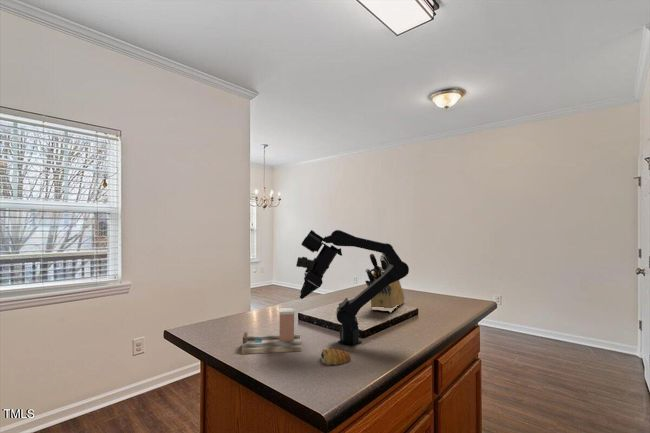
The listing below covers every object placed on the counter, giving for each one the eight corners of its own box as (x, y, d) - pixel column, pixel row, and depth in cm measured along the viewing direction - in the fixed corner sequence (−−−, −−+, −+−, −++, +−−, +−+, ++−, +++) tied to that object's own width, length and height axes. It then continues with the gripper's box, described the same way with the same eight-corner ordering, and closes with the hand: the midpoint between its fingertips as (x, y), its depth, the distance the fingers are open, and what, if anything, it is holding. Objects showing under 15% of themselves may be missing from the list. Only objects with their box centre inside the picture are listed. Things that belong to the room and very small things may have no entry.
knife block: (363, 315, 153) (363, 251, 154) (385, 300, 185) (385, 246, 185) (386, 318, 148) (386, 252, 149) (405, 302, 179) (404, 247, 180)
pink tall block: (293, 337, 117) (293, 307, 117) (294, 342, 112) (294, 311, 112) (279, 338, 116) (279, 308, 117) (279, 343, 111) (279, 312, 112)
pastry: (347, 355, 106) (347, 344, 107) (353, 364, 100) (353, 352, 100) (319, 358, 105) (319, 346, 105) (323, 367, 98) (323, 354, 98)
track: (299, 340, 120) (299, 328, 120) (301, 350, 110) (301, 337, 110) (244, 343, 117) (245, 330, 117) (241, 353, 107) (242, 340, 107)
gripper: (305, 246, 128) (284, 280, 127) (305, 249, 109) (280, 288, 108) (329, 261, 128) (308, 295, 127) (332, 267, 109) (308, 306, 108)
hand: (301, 295), depth 117 cm, fingers open, 9 cm apart
